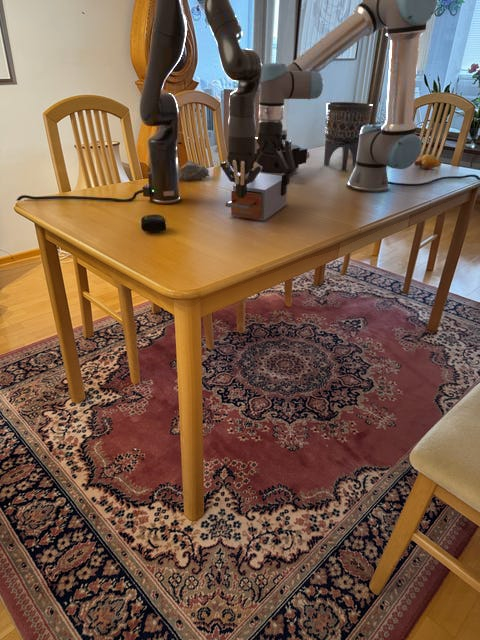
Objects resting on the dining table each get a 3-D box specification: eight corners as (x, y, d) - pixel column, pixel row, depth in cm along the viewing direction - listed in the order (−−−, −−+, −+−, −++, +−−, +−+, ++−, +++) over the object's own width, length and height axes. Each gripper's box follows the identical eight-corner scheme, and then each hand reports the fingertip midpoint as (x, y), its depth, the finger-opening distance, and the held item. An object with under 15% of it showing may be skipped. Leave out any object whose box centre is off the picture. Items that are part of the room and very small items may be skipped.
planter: (313, 167, 208) (319, 103, 195) (331, 160, 222) (338, 101, 209) (353, 173, 199) (362, 107, 185) (369, 166, 213) (379, 104, 199)
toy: (415, 162, 205) (409, 155, 218) (417, 175, 208) (411, 168, 221) (441, 154, 202) (433, 147, 215) (443, 168, 205) (435, 160, 218)
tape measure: (141, 234, 126) (140, 221, 124) (142, 226, 132) (141, 214, 130) (166, 233, 127) (165, 220, 125) (166, 225, 133) (165, 213, 131)
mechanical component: (240, 120, 182) (283, 115, 202) (239, 174, 192) (280, 164, 212) (283, 126, 170) (325, 120, 190) (280, 183, 180) (320, 171, 200)
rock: (201, 174, 190) (201, 158, 187) (214, 178, 185) (214, 162, 181) (174, 179, 183) (173, 162, 179) (187, 183, 177) (186, 166, 174)
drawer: (251, 224, 133) (251, 199, 129) (222, 220, 136) (222, 195, 132) (280, 204, 151) (282, 181, 148) (254, 200, 155) (255, 178, 151)
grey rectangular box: (263, 220, 139) (265, 189, 134) (232, 215, 143) (233, 185, 138) (285, 205, 155) (287, 176, 150) (257, 200, 158) (258, 172, 154)
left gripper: (214, 133, 124) (215, 197, 132) (258, 137, 119) (256, 203, 127) (226, 130, 129) (226, 191, 138) (269, 134, 125) (266, 197, 133)
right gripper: (231, 119, 141) (231, 190, 152) (302, 124, 132) (296, 199, 144) (242, 116, 147) (240, 185, 158) (310, 122, 138) (303, 194, 149)
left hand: (241, 197), depth 133 cm, fingers closed
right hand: (267, 192), depth 151 cm, fingers closed on grey rectangular box, 11 cm apart
